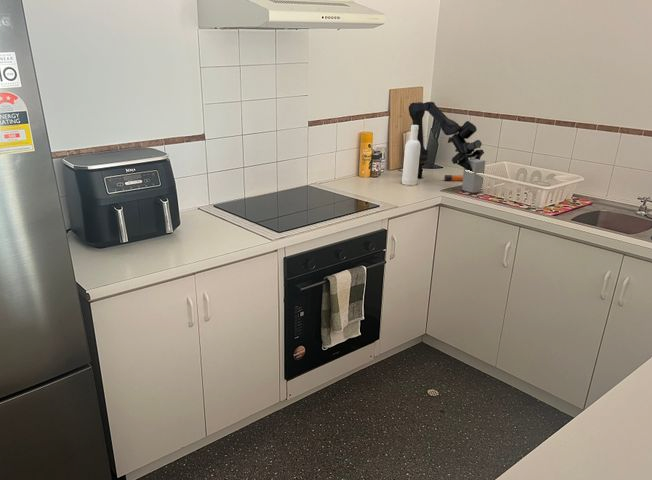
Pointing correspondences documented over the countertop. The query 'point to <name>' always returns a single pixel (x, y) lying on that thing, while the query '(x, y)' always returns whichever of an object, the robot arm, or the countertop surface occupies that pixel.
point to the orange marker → (453, 178)
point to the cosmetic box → (473, 176)
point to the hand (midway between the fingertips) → (476, 170)
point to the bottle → (411, 158)
